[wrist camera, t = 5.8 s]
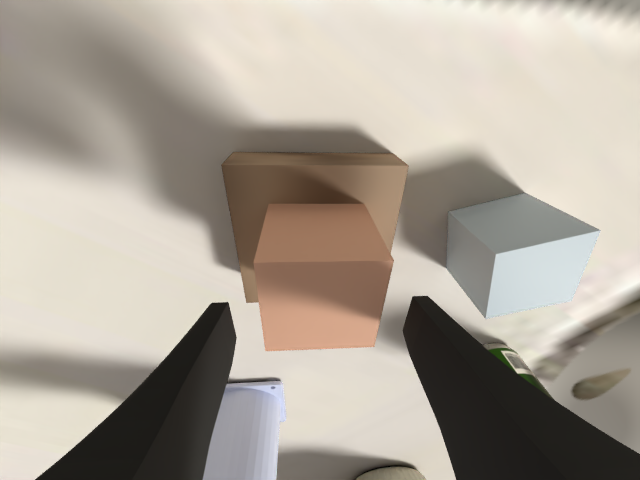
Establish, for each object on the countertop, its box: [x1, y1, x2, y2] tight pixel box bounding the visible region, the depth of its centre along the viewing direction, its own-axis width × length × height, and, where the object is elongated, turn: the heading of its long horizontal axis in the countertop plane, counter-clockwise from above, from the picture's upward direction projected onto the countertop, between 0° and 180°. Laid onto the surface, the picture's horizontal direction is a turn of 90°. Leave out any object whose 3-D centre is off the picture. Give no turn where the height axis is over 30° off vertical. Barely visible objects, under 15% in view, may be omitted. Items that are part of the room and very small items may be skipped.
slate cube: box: [446, 193, 601, 319], centre depth 16 cm, size 5×5×5 cm
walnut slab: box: [221, 152, 409, 303], centre depth 16 cm, size 9×9×2 cm
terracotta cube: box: [253, 204, 394, 351], centre depth 12 cm, size 5×5×5 cm
